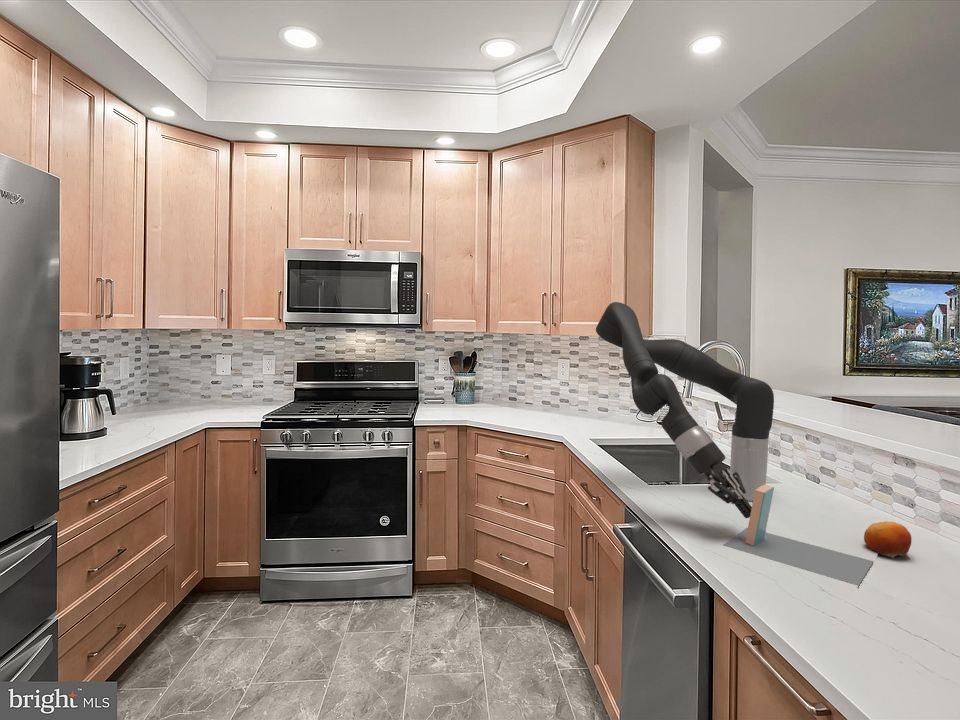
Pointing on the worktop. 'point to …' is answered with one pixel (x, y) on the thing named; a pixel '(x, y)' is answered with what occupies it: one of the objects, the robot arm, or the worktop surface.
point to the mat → (806, 557)
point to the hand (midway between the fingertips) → (751, 515)
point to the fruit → (888, 539)
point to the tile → (759, 515)
